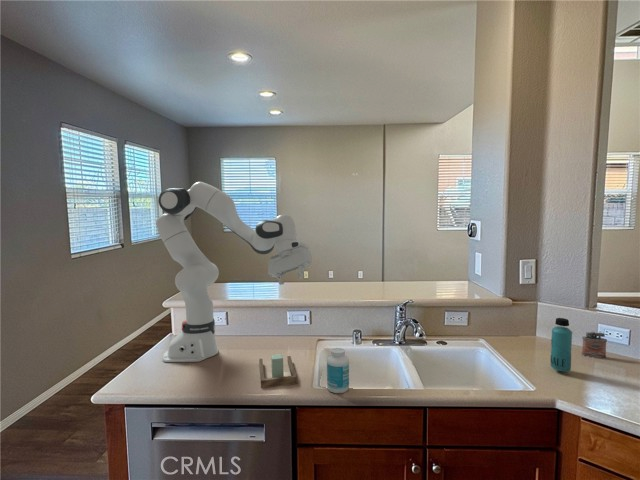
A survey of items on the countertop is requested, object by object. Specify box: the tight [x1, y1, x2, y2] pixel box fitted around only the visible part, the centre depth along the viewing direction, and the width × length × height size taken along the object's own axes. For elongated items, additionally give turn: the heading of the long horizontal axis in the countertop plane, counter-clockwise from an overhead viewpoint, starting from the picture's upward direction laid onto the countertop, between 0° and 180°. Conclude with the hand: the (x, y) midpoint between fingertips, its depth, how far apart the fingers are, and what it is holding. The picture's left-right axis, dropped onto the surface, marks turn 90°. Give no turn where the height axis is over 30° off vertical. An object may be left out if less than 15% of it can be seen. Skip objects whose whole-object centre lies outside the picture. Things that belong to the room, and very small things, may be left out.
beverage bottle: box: [549, 317, 573, 372], centre depth 131 cm, size 6×7×20 cm
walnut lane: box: [258, 355, 298, 388], centre depth 134 cm, size 12×19×2 cm, turn 11°
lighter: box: [581, 331, 608, 359], centre depth 145 cm, size 8×3×10 cm, turn 68°
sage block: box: [270, 353, 285, 378], centre depth 130 cm, size 4×4×8 cm
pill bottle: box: [326, 347, 350, 394], centre depth 121 cm, size 8×7×14 cm
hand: (291, 281), depth 145 cm, fingers open, 8 cm apart
